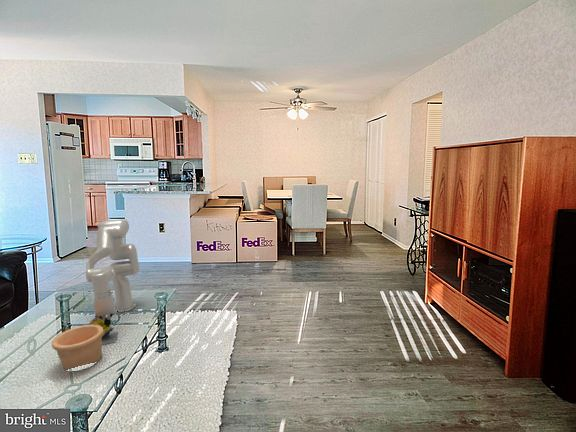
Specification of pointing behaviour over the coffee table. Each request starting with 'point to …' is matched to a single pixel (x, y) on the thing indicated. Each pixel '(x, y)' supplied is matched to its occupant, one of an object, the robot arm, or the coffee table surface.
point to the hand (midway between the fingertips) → (108, 325)
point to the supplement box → (105, 329)
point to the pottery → (79, 346)
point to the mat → (110, 338)
